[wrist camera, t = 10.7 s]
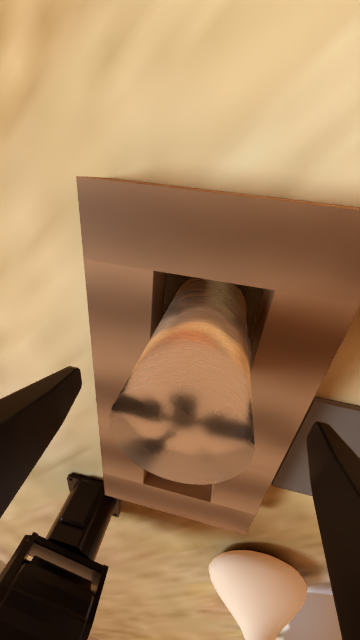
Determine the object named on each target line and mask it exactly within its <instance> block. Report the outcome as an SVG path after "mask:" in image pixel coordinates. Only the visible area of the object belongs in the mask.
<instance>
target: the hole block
mask: <svg viewBox="0 0 360 640" xmlns="http://www.w3.org/2000/svg"><path fill="white" fill-rule="evenodd" d="M76 178H77V189H78V200H79V212H80V223H81V234H82V245H83V256H84V267H85V278H86V289H87V301H88V312H89V323H90V334H91V345H92V356H93V367H94V378H95V390H96V401H97V412H98V423H99V434H100V445H101V456H102V467H103V479H104V490H105V495H107V496H110V497H114V498H117V499H121V500H124V501H128V502H131V503H135V504H138V505H142V506H145V507H149V508H152V509H156V510H159V511H163V512H166V513H170V514H173V515H177V516H180V517H184V518H187V519H191V520H194V521H198V522H201V523H205V524H208V525H212V526H215V527H219V528H222V529H226V530H229V531H233V532H236V533H240V534H243V535H246V533H247V531H248V529H249V527H250V525H251V523H252V521H253V519H254V517H255V515H256V513H257V511H258V509H259V507H260V505H261V502H262V500H263V498H264V496H265V494H266V492H267V490H268V488H269V486H270V484H271V482H272V480H273V478H274V476H275V474H276V472H277V470H278V468H279V466H280V464H281V462H282V460H283V458H284V456H285V454H286V452H287V450H288V448H289V446H290V444H291V442H292V440H293V438H294V436H295V434H296V432H297V430H298V428H299V426H300V424H301V422H302V420H303V418H304V416H305V414H306V412H307V410H308V408H309V406H310V404H311V402H312V400H313V398H314V396H315V394H316V392H317V390H318V388H319V386H320V384H321V382H322V380H323V378H324V376H325V374H326V372H327V370H328V368H329V366H330V364H331V362H332V360H333V358H334V356H335V354H336V352H337V350H338V348H339V346H340V344H341V342H342V340H343V338H344V336H345V334H346V332H347V330H348V328H349V326H350V324H351V322H352V320H353V318H354V316H355V314H356V312H357V310H358V308H359V306H360V208H358V207H350V206H341V205H333V204H324V203H316V202H307V201H299V200H290V199H282V198H273V197H265V196H256V195H248V194H239V193H231V192H222V191H214V190H205V189H197V188H188V187H180V186H171V185H163V184H154V183H146V182H137V181H129V180H120V179H112V178H100V177H79V176H76ZM166 273H172V274H178V275H184V276H190V277H196V278H202V279H208V280H215V281H221V282H227V283H233V284H239V285H245V286H251V287H258V288H264V291H263V295H262V298H261V302H260V305H259V309H258V312H257V316H256V320H255V323H254V327H253V330H252V334H251V337H250V341H249V344H248V347H249V362H250V377H251V393H252V408H253V424H254V439H255V452H254V456H253V459H252V461H251V463H250V464H249V466H248V467H247V468H246V469H245V470H244V471H243V472H242V473H241V474H239V475H237V476H236V477H234V478H232V479H229V480H227V481H224V482H220V483H215V484H206V485H196V484H186V483H180V482H175V481H171V480H168V479H165V478H162V477H159V476H157V475H155V474H153V473H150V472H148V471H147V470H145V469H143V468H141V467H140V466H138V465H137V464H136V463H134V462H133V461H132V460H131V459H129V458H128V457H127V456H126V455H125V454H124V453H123V452H122V450H121V449H120V448H119V447H118V445H117V444H116V442H115V441H114V439H113V436H112V434H111V431H110V426H109V415H110V411H111V409H112V406H113V404H114V403H115V401H116V399H117V397H118V395H119V394H120V392H121V390H122V388H123V387H124V385H125V383H126V381H127V380H128V378H129V376H130V374H131V372H132V371H133V369H134V367H135V365H136V364H137V362H138V360H139V358H140V357H141V355H142V353H143V351H144V349H145V348H146V346H147V344H148V342H149V341H150V339H151V337H152V335H153V334H154V332H155V330H156V328H157V326H158V325H159V323H160V321H161V319H162V318H163V308H164V294H165V281H166Z"/></svg>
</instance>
